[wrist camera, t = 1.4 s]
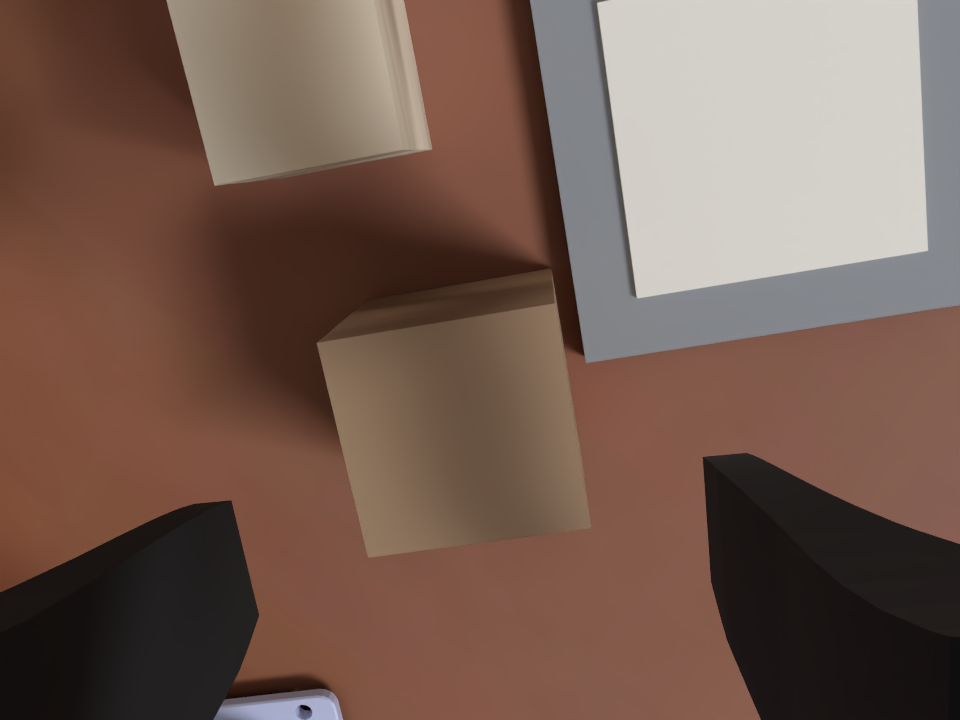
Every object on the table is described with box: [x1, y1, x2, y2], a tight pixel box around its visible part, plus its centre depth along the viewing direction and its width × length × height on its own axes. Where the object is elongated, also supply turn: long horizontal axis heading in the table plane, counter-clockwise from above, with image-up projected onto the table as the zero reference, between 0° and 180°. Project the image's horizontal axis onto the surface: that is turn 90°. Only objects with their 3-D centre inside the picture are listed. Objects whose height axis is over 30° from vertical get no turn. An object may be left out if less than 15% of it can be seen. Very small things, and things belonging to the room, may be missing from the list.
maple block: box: [167, 0, 432, 186], centre depth 18 cm, size 4×4×4 cm
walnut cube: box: [317, 268, 591, 558], centre depth 19 cm, size 5×5×5 cm
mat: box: [530, 0, 960, 363], centre depth 19 cm, size 10×10×1 cm
